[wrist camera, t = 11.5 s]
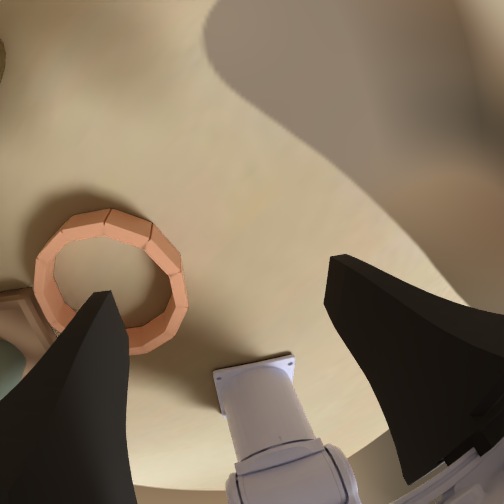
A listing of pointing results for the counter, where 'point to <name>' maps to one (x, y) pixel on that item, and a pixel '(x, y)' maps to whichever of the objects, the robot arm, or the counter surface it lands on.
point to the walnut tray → (25, 325)
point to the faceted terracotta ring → (127, 232)
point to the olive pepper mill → (2, 59)
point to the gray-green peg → (10, 367)
